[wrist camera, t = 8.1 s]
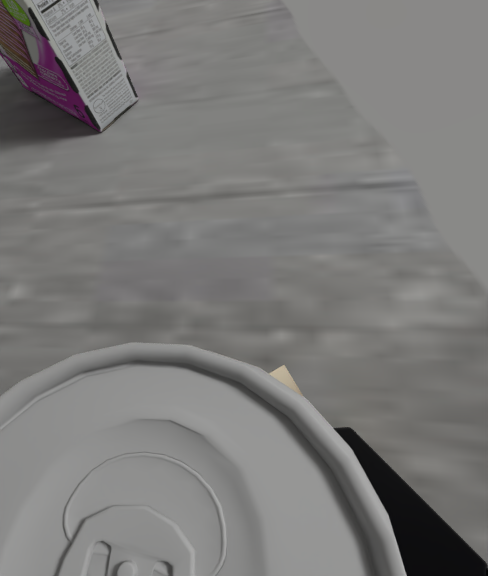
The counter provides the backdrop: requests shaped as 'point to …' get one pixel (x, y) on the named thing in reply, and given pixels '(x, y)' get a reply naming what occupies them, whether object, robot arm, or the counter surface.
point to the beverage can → (179, 473)
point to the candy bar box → (67, 57)
